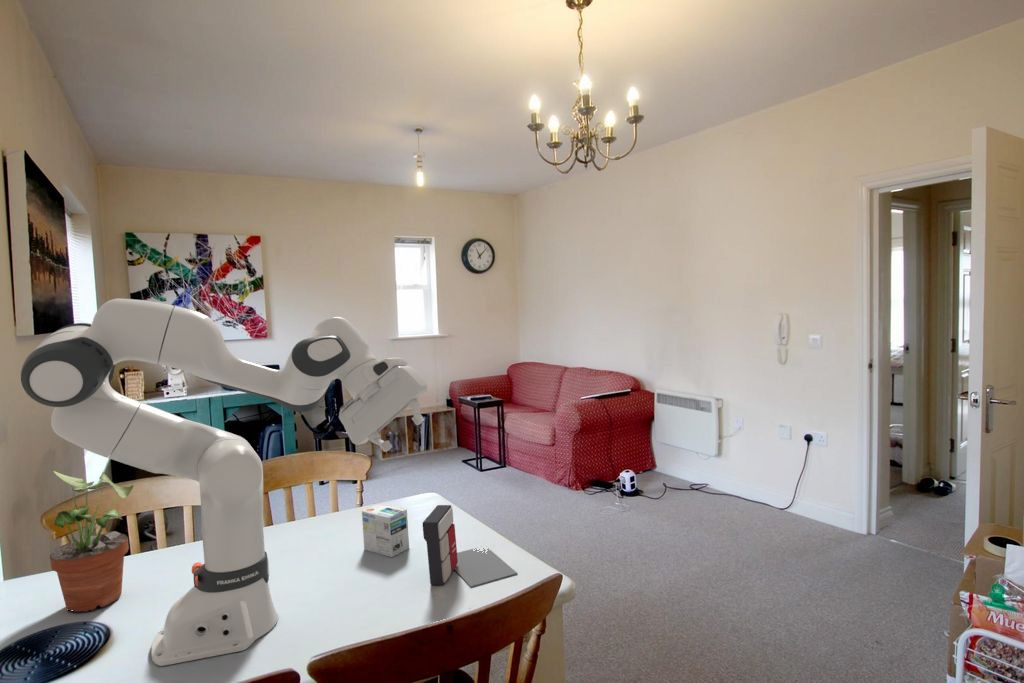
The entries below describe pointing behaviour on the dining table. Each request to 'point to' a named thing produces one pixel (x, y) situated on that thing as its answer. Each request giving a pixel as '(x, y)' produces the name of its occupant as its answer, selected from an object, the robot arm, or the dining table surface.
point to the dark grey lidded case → (440, 543)
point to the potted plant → (90, 554)
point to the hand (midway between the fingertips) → (404, 436)
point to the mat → (481, 567)
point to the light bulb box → (385, 530)
